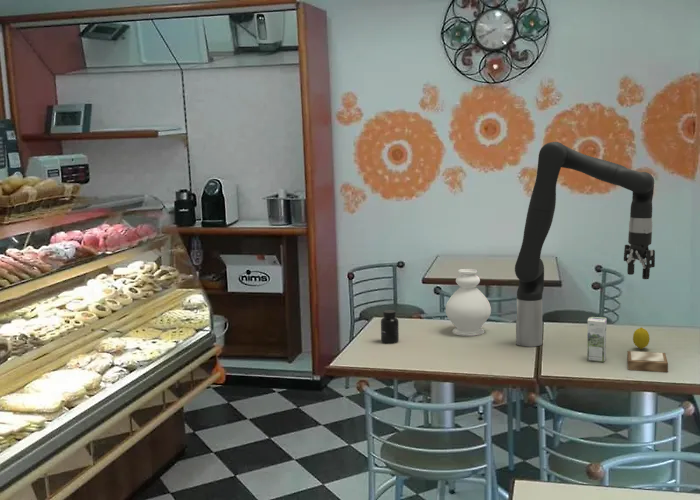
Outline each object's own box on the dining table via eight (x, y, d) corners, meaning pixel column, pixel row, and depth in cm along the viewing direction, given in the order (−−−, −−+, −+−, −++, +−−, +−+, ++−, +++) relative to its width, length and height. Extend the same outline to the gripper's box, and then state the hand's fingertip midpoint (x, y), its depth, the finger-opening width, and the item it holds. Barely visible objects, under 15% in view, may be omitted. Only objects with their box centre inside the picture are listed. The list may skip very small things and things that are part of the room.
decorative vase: (446, 326, 318) (445, 266, 314) (490, 326, 316) (489, 266, 312) (445, 337, 301) (444, 274, 297) (492, 337, 298) (491, 274, 294)
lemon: (650, 351, 273) (651, 329, 272) (634, 351, 274) (634, 329, 273) (647, 347, 278) (648, 325, 277) (631, 347, 279) (632, 325, 278)
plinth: (628, 369, 253) (628, 360, 253) (627, 359, 264) (627, 350, 264) (667, 372, 249) (667, 362, 249) (664, 361, 261) (665, 352, 260)
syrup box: (606, 358, 267) (606, 317, 265) (604, 362, 262) (604, 321, 260) (589, 356, 270) (589, 316, 267) (586, 361, 264) (587, 319, 262)
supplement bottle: (378, 343, 296) (377, 312, 294) (384, 338, 302) (383, 308, 300) (395, 344, 293) (394, 313, 292) (401, 340, 300) (400, 309, 298)
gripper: (618, 228, 271) (616, 273, 274) (643, 233, 258) (641, 281, 260) (637, 227, 273) (635, 272, 276) (663, 232, 260) (660, 280, 262)
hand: (638, 276), depth 268 cm, fingers open, 8 cm apart
